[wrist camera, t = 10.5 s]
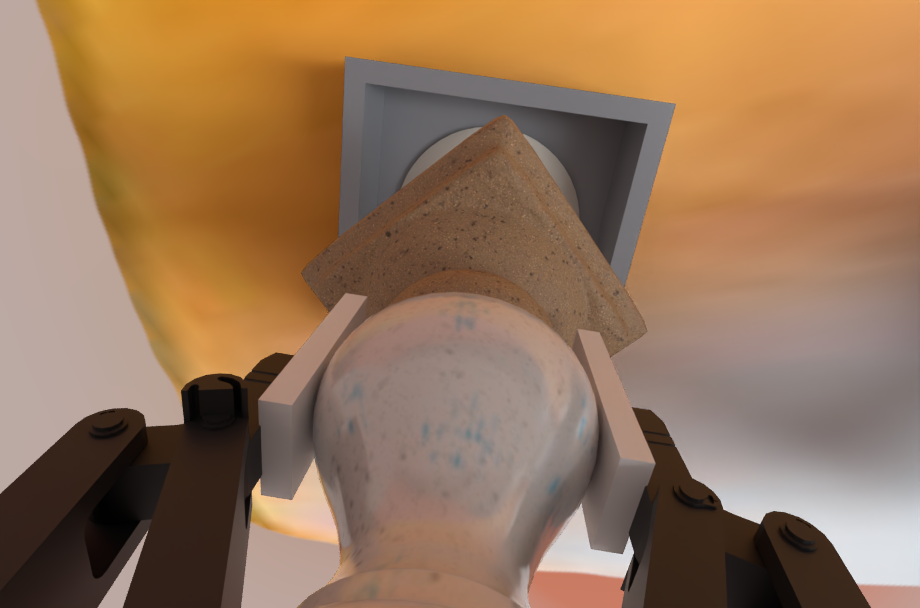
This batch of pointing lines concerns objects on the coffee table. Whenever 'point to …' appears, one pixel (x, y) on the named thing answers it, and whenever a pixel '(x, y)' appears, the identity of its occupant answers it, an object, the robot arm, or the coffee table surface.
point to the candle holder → (461, 381)
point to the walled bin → (537, 117)
